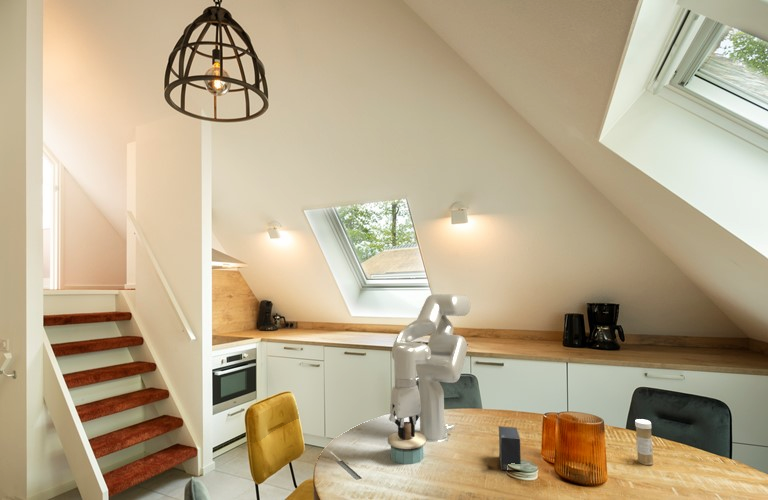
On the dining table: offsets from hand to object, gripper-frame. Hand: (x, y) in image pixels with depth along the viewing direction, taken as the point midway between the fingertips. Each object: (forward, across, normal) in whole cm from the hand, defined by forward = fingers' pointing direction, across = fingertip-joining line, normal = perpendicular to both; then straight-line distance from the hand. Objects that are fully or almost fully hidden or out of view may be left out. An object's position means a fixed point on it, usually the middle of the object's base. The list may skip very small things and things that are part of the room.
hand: (406, 436), depth 144 cm
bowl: (+8, 0, 0) cm, 8 cm away
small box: (+8, -27, +21) cm, 35 cm away
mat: (+8, +14, -3) cm, 16 cm away
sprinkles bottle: (+8, -65, +44) cm, 79 cm away
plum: (+7, 0, 0) cm, 7 cm away
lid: (+2, 0, 0) cm, 2 cm away
